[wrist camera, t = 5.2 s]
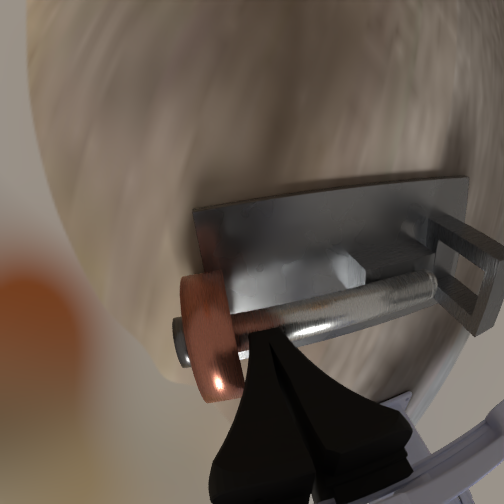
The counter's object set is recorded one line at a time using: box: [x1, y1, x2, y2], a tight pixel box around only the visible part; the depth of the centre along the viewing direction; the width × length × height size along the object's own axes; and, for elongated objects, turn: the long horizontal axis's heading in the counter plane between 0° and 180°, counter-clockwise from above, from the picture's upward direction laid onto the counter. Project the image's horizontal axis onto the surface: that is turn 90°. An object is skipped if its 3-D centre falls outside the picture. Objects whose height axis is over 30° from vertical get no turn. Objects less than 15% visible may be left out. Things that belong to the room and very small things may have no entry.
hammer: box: [172, 269, 438, 403], centre depth 14 cm, size 6×14×6 cm, turn 97°
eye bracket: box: [193, 176, 504, 360], centre depth 15 cm, size 10×18×7 cm, turn 97°
